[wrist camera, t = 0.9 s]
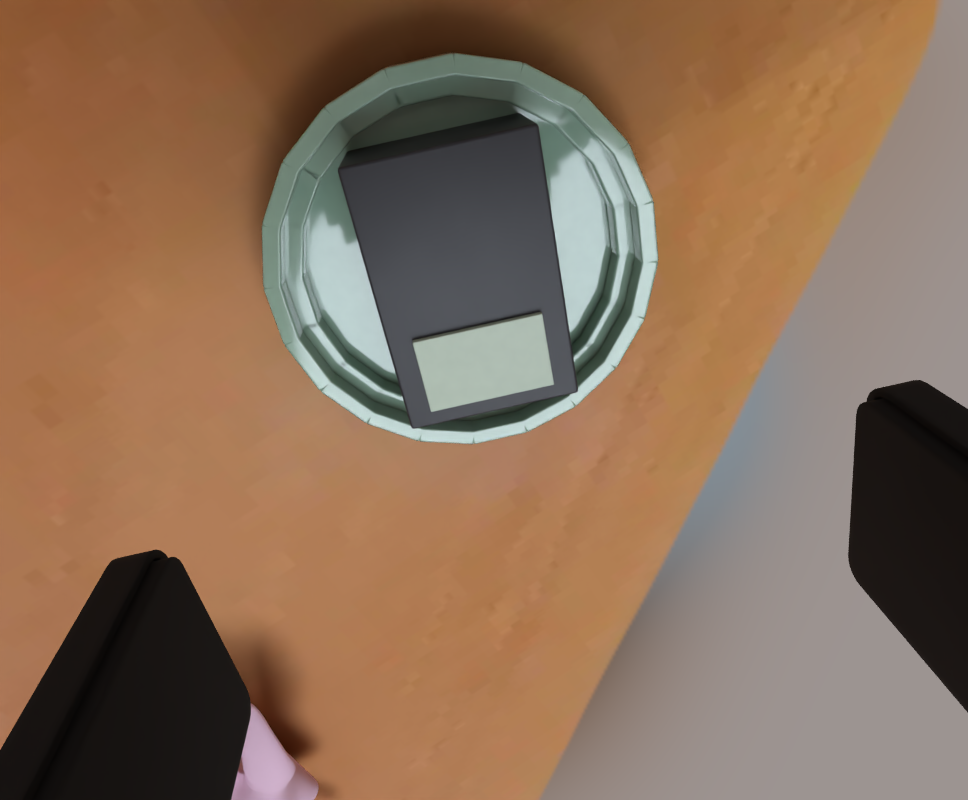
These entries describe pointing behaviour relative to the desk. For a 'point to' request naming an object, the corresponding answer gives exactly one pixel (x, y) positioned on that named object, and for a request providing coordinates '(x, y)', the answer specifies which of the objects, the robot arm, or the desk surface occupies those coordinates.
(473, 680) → the desk surface
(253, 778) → the rabbit figure
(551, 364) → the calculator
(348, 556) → the desk surface
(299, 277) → the plant saucer
